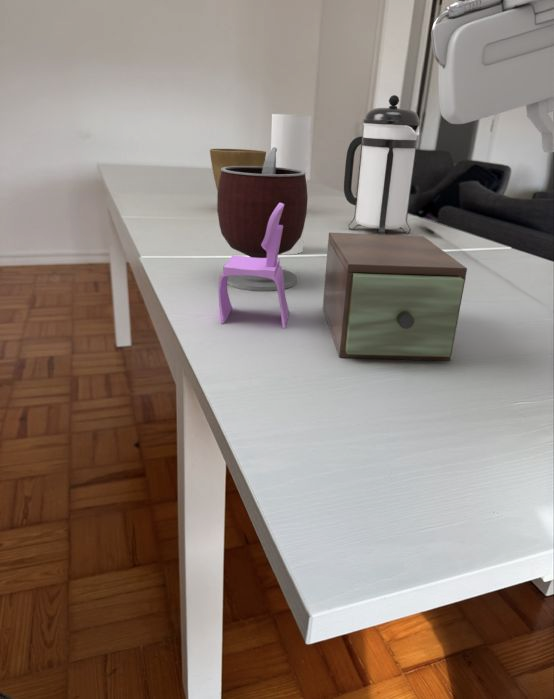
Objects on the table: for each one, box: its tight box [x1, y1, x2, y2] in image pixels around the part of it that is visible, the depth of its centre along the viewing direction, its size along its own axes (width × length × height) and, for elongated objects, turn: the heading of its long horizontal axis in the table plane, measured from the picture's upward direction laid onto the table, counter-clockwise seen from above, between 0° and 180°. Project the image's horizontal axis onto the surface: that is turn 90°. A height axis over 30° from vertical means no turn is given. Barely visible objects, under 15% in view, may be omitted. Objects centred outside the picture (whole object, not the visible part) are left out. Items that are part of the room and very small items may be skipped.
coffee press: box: [343, 94, 422, 235], centre depth 128 cm, size 17×16×30 cm
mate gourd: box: [216, 147, 309, 292], centre depth 86 cm, size 16×14×20 cm
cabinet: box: [322, 232, 468, 361], centre depth 68 cm, size 17×13×11 cm
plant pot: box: [209, 148, 267, 192], centre depth 147 cm, size 15×15×16 cm
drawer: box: [345, 272, 464, 357], centre depth 66 cm, size 17×12×9 cm
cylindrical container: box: [270, 113, 312, 256], centre depth 105 cm, size 7×7×25 cm
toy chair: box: [217, 203, 290, 329], centre depth 70 cm, size 8×9×15 cm
